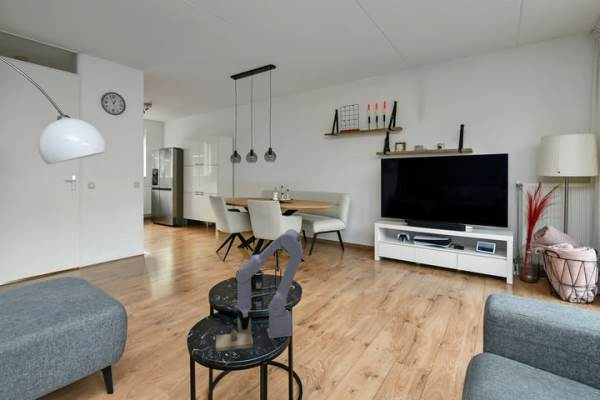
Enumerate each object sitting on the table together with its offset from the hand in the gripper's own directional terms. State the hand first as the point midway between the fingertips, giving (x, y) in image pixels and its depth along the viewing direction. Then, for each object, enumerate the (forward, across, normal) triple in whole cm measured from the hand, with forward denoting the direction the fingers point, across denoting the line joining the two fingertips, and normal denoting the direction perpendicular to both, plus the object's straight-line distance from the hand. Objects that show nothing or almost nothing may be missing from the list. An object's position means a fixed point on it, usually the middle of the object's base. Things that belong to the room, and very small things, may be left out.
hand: (244, 325), depth 133 cm
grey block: (+2, 0, 0) cm, 2 cm away
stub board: (+2, +10, -4) cm, 11 cm away
